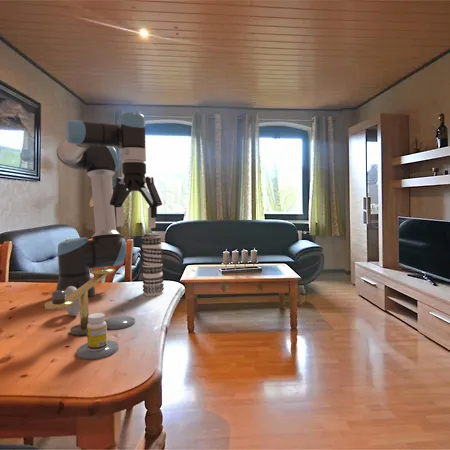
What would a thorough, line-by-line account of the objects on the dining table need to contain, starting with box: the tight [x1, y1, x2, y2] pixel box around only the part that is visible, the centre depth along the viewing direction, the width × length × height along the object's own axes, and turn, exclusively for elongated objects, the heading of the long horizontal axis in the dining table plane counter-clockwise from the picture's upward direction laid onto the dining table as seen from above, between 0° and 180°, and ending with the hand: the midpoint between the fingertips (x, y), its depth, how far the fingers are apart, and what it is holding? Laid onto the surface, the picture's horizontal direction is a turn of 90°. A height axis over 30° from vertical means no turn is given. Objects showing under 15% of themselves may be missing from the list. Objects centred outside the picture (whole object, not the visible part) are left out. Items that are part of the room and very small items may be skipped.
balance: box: [44, 267, 116, 337], centre depth 104 cm, size 8×26×16 cm, turn 162°
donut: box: [65, 286, 80, 317], centre depth 119 cm, size 10×4×10 cm, turn 40°
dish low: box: [76, 339, 119, 361], centre depth 90 cm, size 10×10×1 cm
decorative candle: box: [140, 232, 165, 297], centre depth 147 cm, size 9×9×25 cm
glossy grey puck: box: [104, 315, 136, 330], centre depth 111 cm, size 10×10×1 cm
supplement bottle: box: [86, 312, 108, 351], centre depth 90 cm, size 5×5×8 cm
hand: (135, 227), depth 117 cm, fingers open, 13 cm apart
